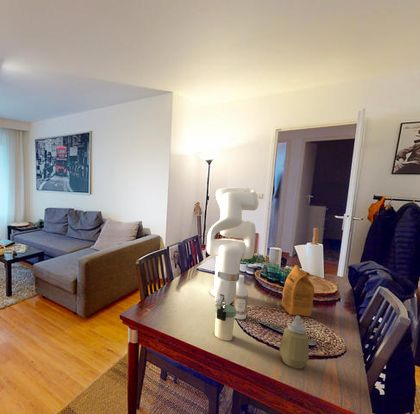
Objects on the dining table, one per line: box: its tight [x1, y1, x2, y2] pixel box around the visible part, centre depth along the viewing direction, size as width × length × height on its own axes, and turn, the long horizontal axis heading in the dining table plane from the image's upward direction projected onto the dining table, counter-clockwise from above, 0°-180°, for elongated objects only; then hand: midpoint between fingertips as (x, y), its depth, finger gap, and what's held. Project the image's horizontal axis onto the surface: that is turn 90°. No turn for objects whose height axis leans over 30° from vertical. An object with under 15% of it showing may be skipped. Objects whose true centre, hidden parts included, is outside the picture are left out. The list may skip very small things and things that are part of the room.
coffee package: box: [281, 264, 315, 317], centre depth 132 cm, size 10×12×22 cm
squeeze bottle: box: [278, 315, 310, 369], centre depth 97 cm, size 8×8×18 cm
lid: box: [214, 302, 236, 318], centre depth 113 cm, size 8×8×2 cm
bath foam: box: [232, 274, 249, 320], centre depth 128 cm, size 7×7×20 cm
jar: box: [214, 312, 235, 341], centre depth 113 cm, size 6×6×12 cm
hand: (224, 315), depth 113 cm, fingers closed on lid, 7 cm apart
